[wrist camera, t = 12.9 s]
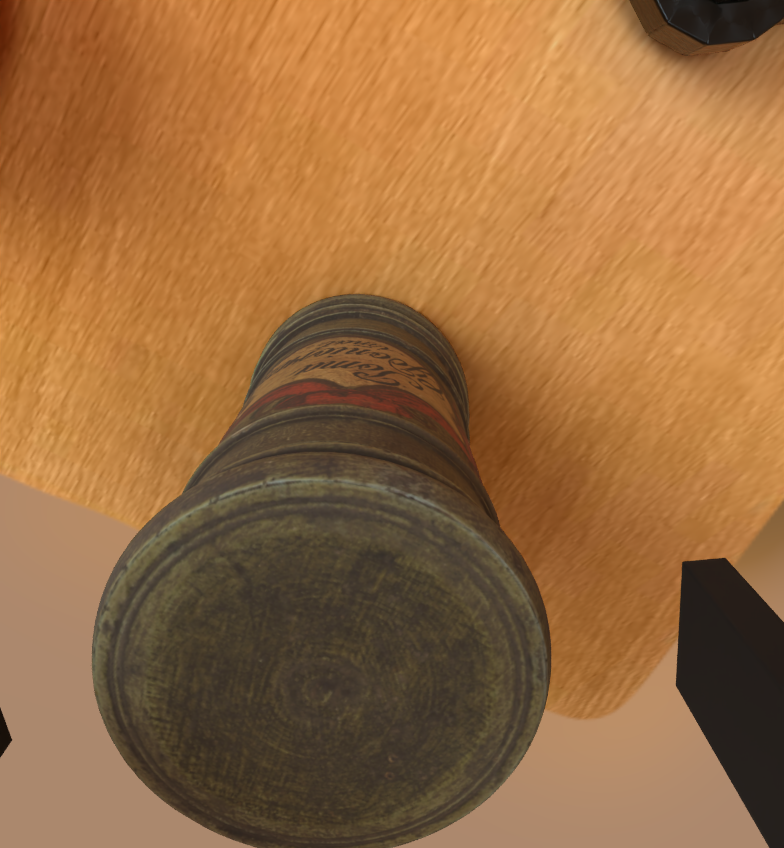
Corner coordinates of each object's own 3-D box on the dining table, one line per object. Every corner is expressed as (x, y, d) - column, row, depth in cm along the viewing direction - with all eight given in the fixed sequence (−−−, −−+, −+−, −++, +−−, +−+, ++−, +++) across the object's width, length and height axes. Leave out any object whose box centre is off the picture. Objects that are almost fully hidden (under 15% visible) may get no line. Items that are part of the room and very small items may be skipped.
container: (470, 484, 30) (577, 862, 13) (271, 499, 30) (125, 891, 13) (461, 283, 27) (583, 434, 10) (241, 300, 27) (4, 478, 10)
